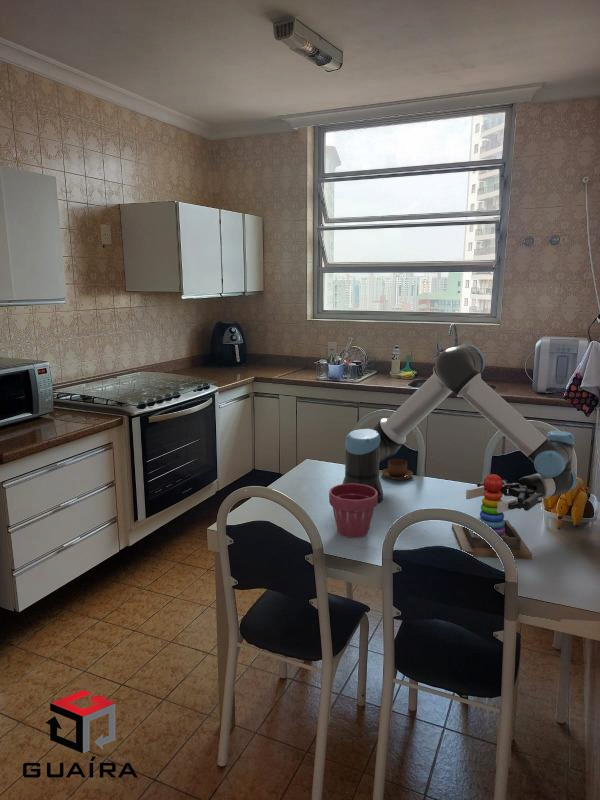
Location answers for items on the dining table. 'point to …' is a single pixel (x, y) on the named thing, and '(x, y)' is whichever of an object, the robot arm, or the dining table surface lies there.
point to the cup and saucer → (397, 470)
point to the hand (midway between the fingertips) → (482, 501)
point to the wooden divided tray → (482, 548)
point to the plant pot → (353, 508)
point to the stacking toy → (492, 504)
